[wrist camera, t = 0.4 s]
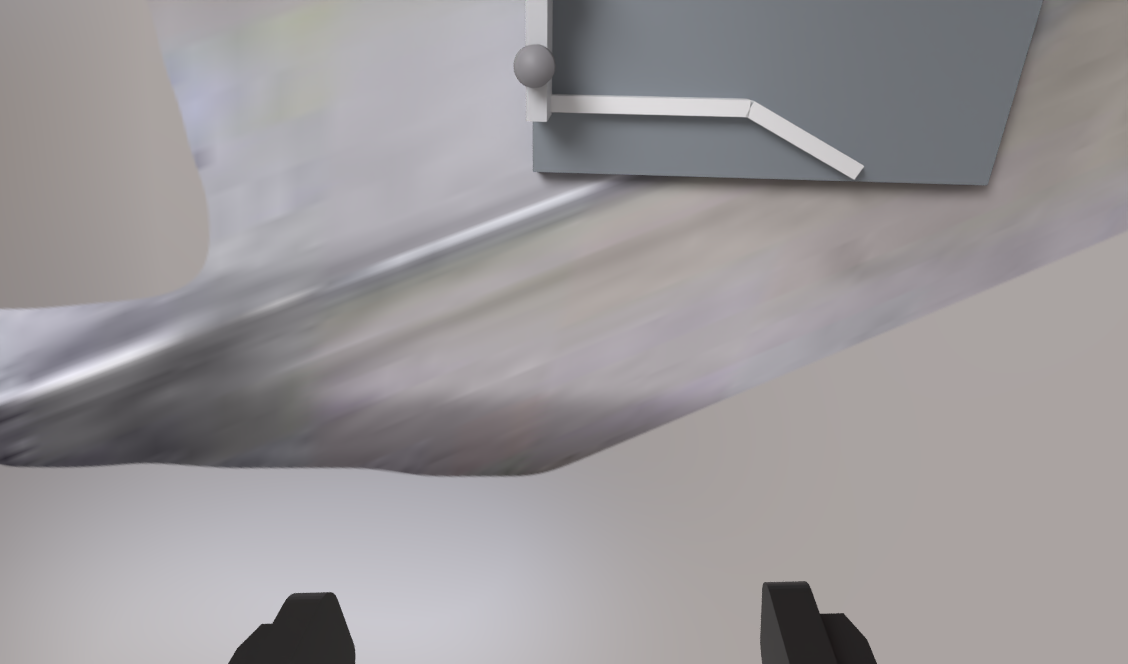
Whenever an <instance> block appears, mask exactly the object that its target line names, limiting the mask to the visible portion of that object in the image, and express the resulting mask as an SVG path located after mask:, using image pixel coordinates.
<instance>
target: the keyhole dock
mask: <svg viewBox="0 0 1128 664" xmlns="http://www.w3.org/2000/svg"><path fill="white" fill-rule="evenodd" d="M1042 3H1043V0H525V47H523V48H522V49H521V50H520V51H519V52H518V53H517V55H516V57H515V60H514V72H515V75H516V77H517V79H518V80H519V81H520V82H521V83H522V84H523V85H525V86H526V121H533V172H557V173H591V174H624V175H657V176H691V177H724V178H757V179H791V180H824V181H858V182H891V183H924V184H958V185H988V182H989V179H990V175H991V172H992V169H993V165H994V162H995V159H996V155H997V152H998V149H999V145H1000V142H1001V139H1002V135H1003V132H1004V129H1005V125H1006V122H1007V119H1008V115H1009V112H1010V109H1011V106H1012V102H1013V99H1014V96H1015V92H1016V89H1017V86H1018V82H1019V79H1020V76H1021V72H1022V69H1023V66H1024V62H1025V59H1026V56H1027V52H1028V49H1029V46H1030V42H1031V39H1032V36H1033V32H1034V29H1035V26H1036V22H1037V19H1038V16H1039V13H1040V9H1041V6H1042Z"/></svg>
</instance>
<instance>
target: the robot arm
mask: <svg viewBox="0 0 1128 664" xmlns="http://www.w3.org/2000/svg"><path fill="white" fill-rule="evenodd" d="M760 645H761V657H762V664H877V663H876V660H875V658H874V655H873V653H872V650H871V648H870V646H869V643H868V641H867V639H866V638H865V637H864V636H863V635H862V634H861V632H860V631H859V630H858V629H857V628H856V627H855V626H854V625H853V624H852V622H851V621H850V620H849V619H848V618H847V617H846V616H845V615H844V613H840V614H839V613H837V614H820V613H819V610H818V608H817V605H816V602H815V599H814V596H813V593H812V591H811V588H810V586H809V584H808V583H807V582H805V581H799V582H765V583H763V588H762V612H761V635H760ZM228 664H355V648H354V643H353V640H352V638H351V635H350V633H349V630H348V627H347V624H346V621H345V618H344V616H343V613H342V610H341V607H340V605H339V602H338V599H337V597H336V595H335V594H334V593H331V592H326V593H325V592H323V593H294V594H292V595H290V596H289V597H288V598H287V599H286V601H285V602H284V604H283V606H282V607H281V609H280V611H279V613H278V615H277V616H276V618H275V620H274V622H273V624H261V625H260V626H259V627H258V628H257V629H256V630H255V631H254V632H253V633H252V634H251V635H250V636H249V637H248V638H247V639H246V640H245V641H244V642H243V643H242V644H241V645H240V646H239V647H238V648H237V650H236V651H235V653H234V655H233V657H232V658H231V660H230V662H229V663H228Z"/></svg>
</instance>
